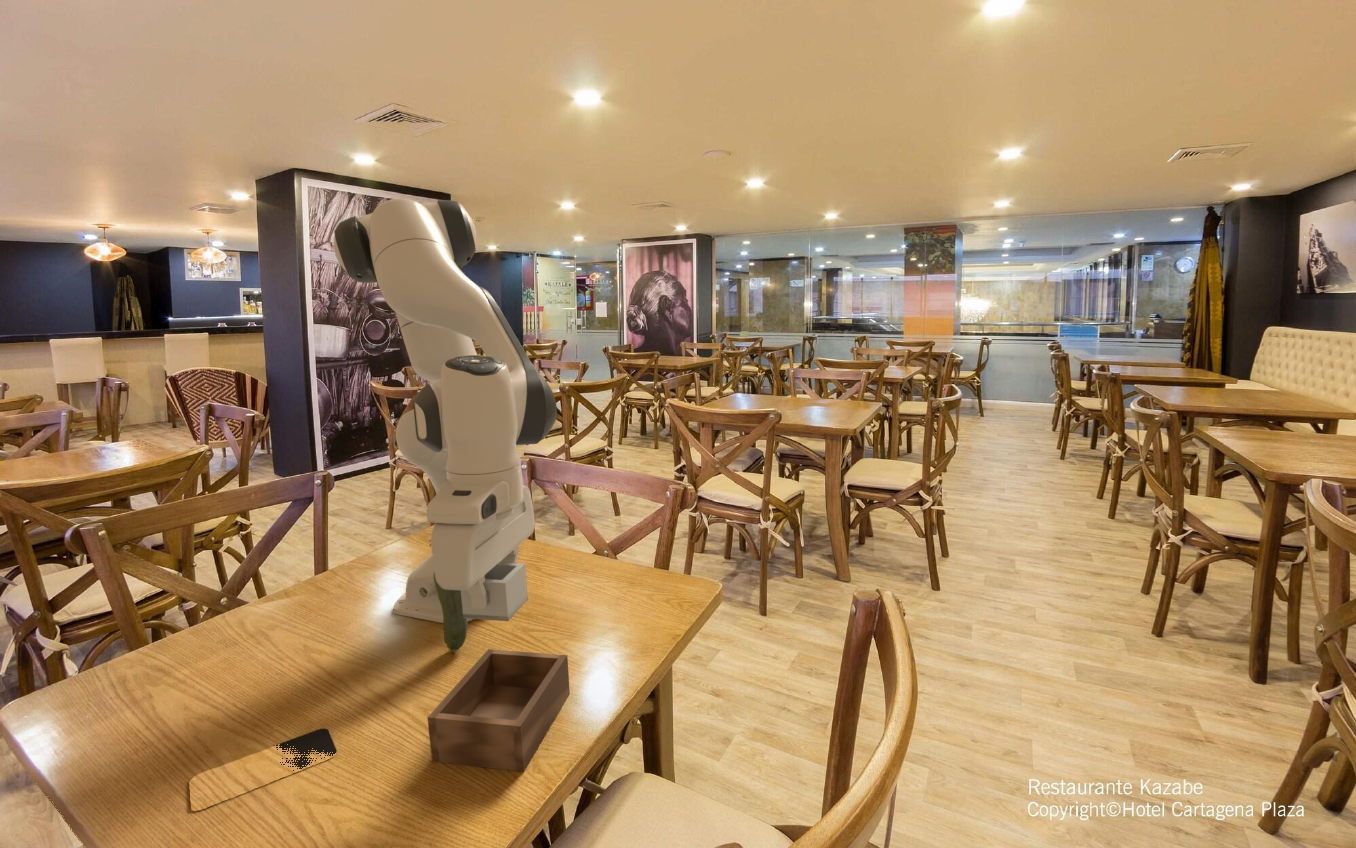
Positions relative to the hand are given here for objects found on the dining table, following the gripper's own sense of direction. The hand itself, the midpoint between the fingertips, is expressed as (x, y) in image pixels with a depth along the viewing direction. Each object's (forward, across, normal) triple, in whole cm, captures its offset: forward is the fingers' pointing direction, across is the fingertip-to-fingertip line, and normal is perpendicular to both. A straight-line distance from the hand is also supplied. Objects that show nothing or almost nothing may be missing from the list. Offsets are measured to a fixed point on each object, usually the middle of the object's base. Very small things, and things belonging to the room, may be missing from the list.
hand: (494, 593), depth 84 cm
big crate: (+19, 0, 0) cm, 19 cm away
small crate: (+2, 0, 0) cm, 2 cm away
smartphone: (+19, +12, -26) cm, 35 cm away
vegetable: (+19, -16, -16) cm, 29 cm away
